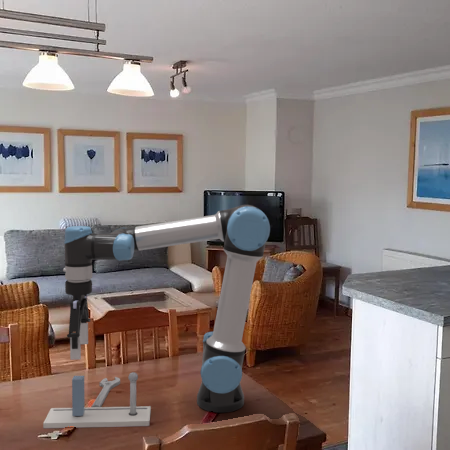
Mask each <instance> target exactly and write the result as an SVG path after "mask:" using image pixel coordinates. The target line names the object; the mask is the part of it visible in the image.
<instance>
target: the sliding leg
mask: <svg viewBox="0 0 450 450" xmlns="http://www.w3.org/2000/svg"><path fill="white" fill-rule="evenodd" d="M71 384H72V385H71V399H72V400H71V401H72V403H71V406H72V407H71V408H72V416H83V414H84V411H85V408H86V407H85V402H86V401H85V375H73V377H72V379H71Z"/></svg>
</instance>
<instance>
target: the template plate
mask: <svg viewBox="0 0 450 450" xmlns="http://www.w3.org/2000/svg"><path fill="white" fill-rule="evenodd" d="M138 378H139V376H138V373H137V372H133V371H132V372H130V373H129V375H128V381H129V393H130V394H129V406H104V407H103V406H102V407H91V406H89V407H87V406H86V407H85V411H84V414H83V416H72V407H51V408H50V410H49V411H48V413H47V416H46V418H45V419H44V421H43V423H42V424H43V425H42V426H43V427H42V428H43V429H63V428H64V429H66V428H65V427H68V426H69V427H70V426H74V427H76V428H115V427H116V428H117V427H118V428H119V427H150V422H151V412H152V410H151V409H152V408H151V407H152V406H151V405H149V406H146V405H145V406H141V405H140V406H137V381H138Z"/></svg>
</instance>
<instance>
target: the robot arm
mask: <svg viewBox="0 0 450 450" xmlns="http://www.w3.org/2000/svg"><path fill="white" fill-rule="evenodd" d="M270 233H271V225H270V220H269V218H268V217H267V214H265V212H263V211H262V210H261V209H260V208H259V207H257V206H255V205H253V204H241V205H238V206H235V207H232V208H228V209H227V208H226V209H224V210H223V209H222V210H218V211H217V212H216V213H215V214H212V215H210V214H209V215H205V216H198V217H191V218H186V219H179V220H173V221H172V220H171V221H165V222H164V221H163V222H158V223H152V224H145V225H139V226H132V227H120V228H116V229H114V230H113V231H112V232H110V233H93V230H92V227H91V226H89V225H85V226H84V225H73V226H72V225H71V226H68V227H66V228H65V230H64V242H63V244H64V245H63V246H64V266H65V267H64V268H63V270H62V271H63V272H64V275H65V276H64V278H65V280H66V281H65V282H64V283H65V284H64V289H65V290H64V291H65V294H67V295H69V296H72V300H70V302H69V305H70V306H69V308H70V310H69V311H70V312H69V321H68V322H69V323H68V324H69V325H68V334H66V338H69V345H70V347H69V348H70V349H69V351H70V353H69V354H70V355H69V357H70V360H81V358H82V357H81V356H82V355H81V345H88V344H89V323H90V322H91V318H89V317H90V315H89V306H88V295H90V294H91V293H92V292H93V280H92V278H93V264H92V263H93V261H94V260H95V261H98V260H102V261H120V262H121V261H129V260H132V259H133V257H134V254H135V252H138V251H143V250H144V251H145V250H151V249H152V250H153V249H159V248H166V247H172V246H179V245H186V244H193V243H201V242H205V241H207V242H208V241H213V240H220V241H221V242H224V244H223V252H224V253H225V254H226V263H225V268H224V273H223V277H222V283H221V290H220V294H219V299H218V304H217V310H216V317H215V321H214V327H213V331H207V332H205V334H204V335H203V340H202V343H203V345H202V346H203V347H202V361H201V367H200V378H201V383H200V386H199V388H198V391H197V395H196V404H197V406H198V407H199V408H200V409H203V410H205V411H207V412H211V411H213V412H212V413H221V414H222V413H231V412H235V411H237V410H240V409H241V408H243V406H244V405H245V395H244V391H243V389H242V385H241V381H242V377H243V370H242V368H243V363H244V357H245V352H246V345H245V344H244V343H243V334H244V330H245V324H246V319H247V315H248V308H249V305H250V300H251V299H250V298H251V293H252V289H253V283H254V277H255V273H256V268H257V267H256V266H257V263H258V262H259V260H261V259H262V258H263V257H264V252H265V249H266V243H267V241H268V239H269V237H270Z"/></svg>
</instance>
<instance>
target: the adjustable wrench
mask: <svg viewBox="0 0 450 450" xmlns="http://www.w3.org/2000/svg"><path fill="white" fill-rule="evenodd" d="M120 384H121V378H120V377H117V376H114V380H108V378H107V377H105V378H103V379H102V380H101V381H99V387H102V388H101V391H99V394H98V395H97V397H96V398H95V400H94V401H93V403H92V405H91V406H90V407H103V405H104V402H105V400H106V399H107V397H108V395H109V393H110V392H111V390H112V389H113V388H115V387H118V386H119V385H120Z"/></svg>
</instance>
